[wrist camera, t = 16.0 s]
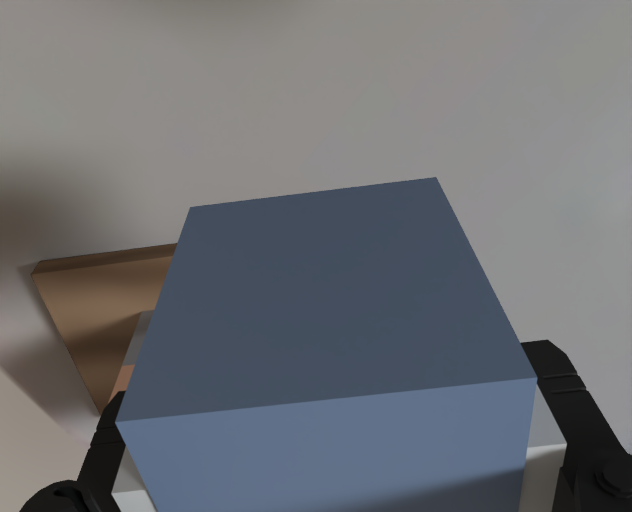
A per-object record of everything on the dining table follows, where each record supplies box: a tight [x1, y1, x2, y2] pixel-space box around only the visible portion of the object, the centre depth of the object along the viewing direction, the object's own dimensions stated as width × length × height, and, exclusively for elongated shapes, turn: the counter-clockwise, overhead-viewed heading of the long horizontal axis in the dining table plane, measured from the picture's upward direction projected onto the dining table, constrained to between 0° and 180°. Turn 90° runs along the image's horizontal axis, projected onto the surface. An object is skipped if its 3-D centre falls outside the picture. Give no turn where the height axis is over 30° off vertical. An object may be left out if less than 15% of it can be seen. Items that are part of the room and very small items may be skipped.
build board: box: [30, 243, 178, 415], centre depth 35 cm, size 14×18×6 cm
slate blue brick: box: [115, 177, 537, 512], centre depth 13 cm, size 6×6×7 cm
